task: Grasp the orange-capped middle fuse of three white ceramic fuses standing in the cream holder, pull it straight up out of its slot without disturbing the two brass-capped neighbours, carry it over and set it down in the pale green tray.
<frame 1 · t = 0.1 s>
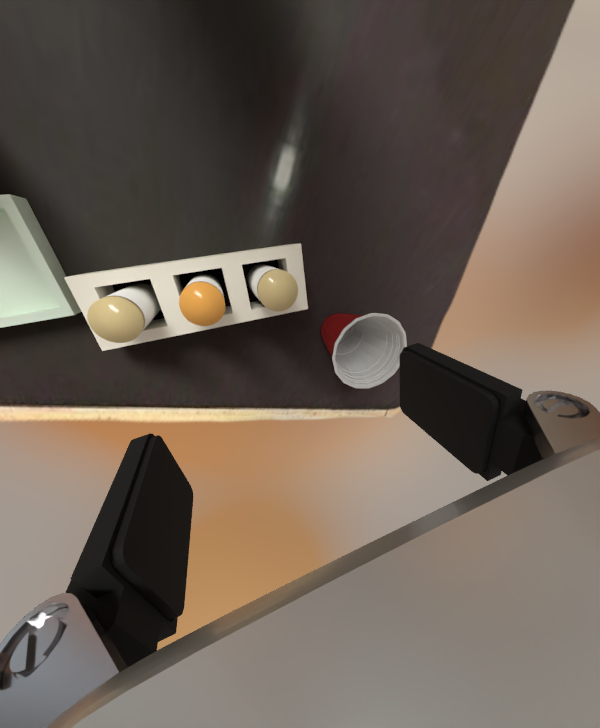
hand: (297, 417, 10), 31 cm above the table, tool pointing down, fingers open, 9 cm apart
fuse marked: (204, 296, 30), in the holder
plastic cup: (334, 328, 44), on the table
fuse 1: (143, 300, 33), resting in holder
fuse 3: (261, 280, 37), resting in holder
holder: (205, 289, 35), on the table
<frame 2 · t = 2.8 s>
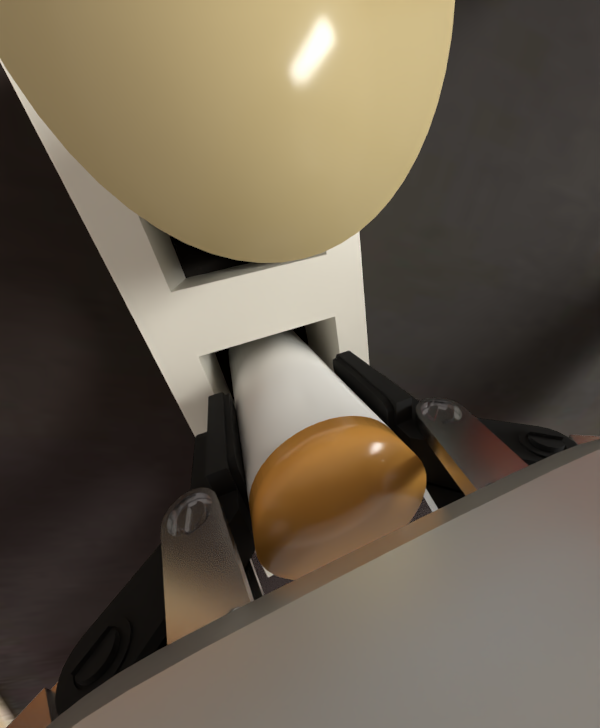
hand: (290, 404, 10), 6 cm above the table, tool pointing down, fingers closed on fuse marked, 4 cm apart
fuse marked: (288, 399, 11), in the holder, touching gripper
fuse 1: (222, 203, 12), resting in holder
holder: (265, 353, 16), on the table
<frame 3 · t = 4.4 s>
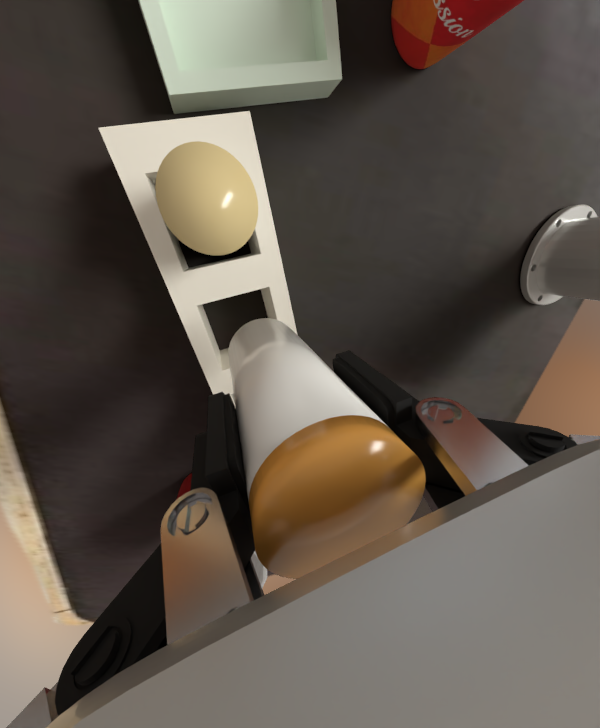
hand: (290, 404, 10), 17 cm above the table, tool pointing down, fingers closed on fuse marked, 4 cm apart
fuse marked: (288, 398, 11), point 16 cm above the table, touching gripper
plastic cup: (206, 482, 32), on the table
fuse 1: (209, 225, 21), resting in holder
holder: (238, 316, 25), on the table
coffee cup: (420, 21, 20), on the table
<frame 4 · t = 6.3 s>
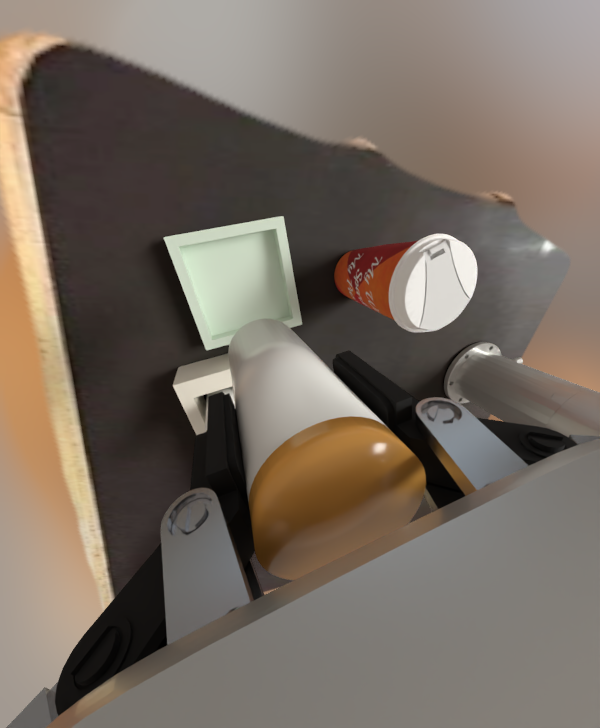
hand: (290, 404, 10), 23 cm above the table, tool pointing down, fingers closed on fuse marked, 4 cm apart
fuse marked: (288, 399, 11), point 23 cm above the table, touching gripper
holder: (240, 433, 38), on the table
tray: (240, 284, 30), on the table
coffee cup: (353, 274, 34), on the table
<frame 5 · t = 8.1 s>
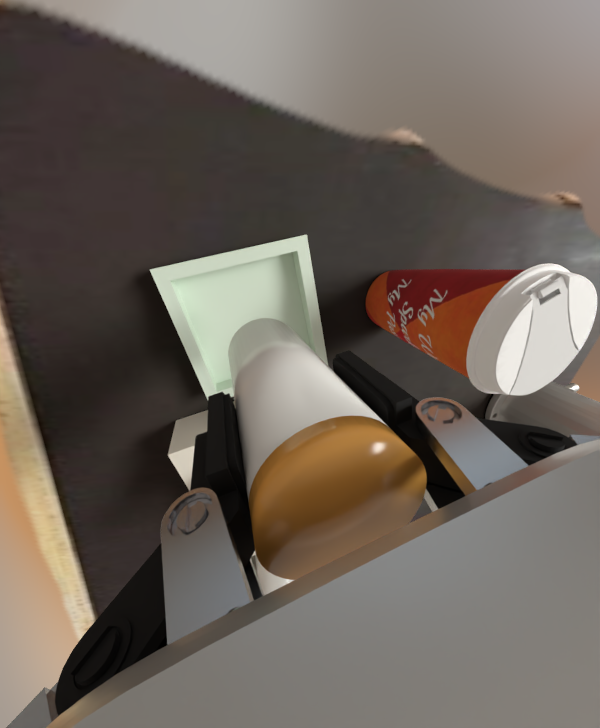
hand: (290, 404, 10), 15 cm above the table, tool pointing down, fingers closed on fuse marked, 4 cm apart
fuse marked: (288, 399, 11), point 15 cm above the table, touching gripper
fuse 3: (267, 523, 36), resting in holder
holder: (251, 487, 32), on the table
tray: (250, 319, 24), on the table
coffee cup: (388, 299, 28), on the table
when the fingers open (8 cm above the table, at t = 9.7 s): fuse marked drops 2 cm, resting on tray.
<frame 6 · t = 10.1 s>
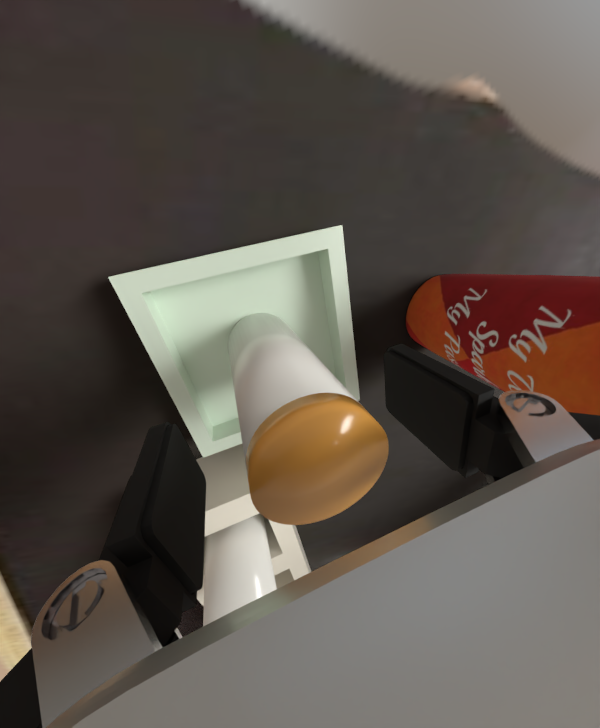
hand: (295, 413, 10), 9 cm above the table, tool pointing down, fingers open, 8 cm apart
fuse marked: (280, 384, 12), in the tray, point 6 cm above the table
fuse 1: (232, 492, 23), resting in holder
holder: (257, 541, 26), on the table
tray: (258, 341, 18), on the table
coffee cup: (433, 311, 22), on the table
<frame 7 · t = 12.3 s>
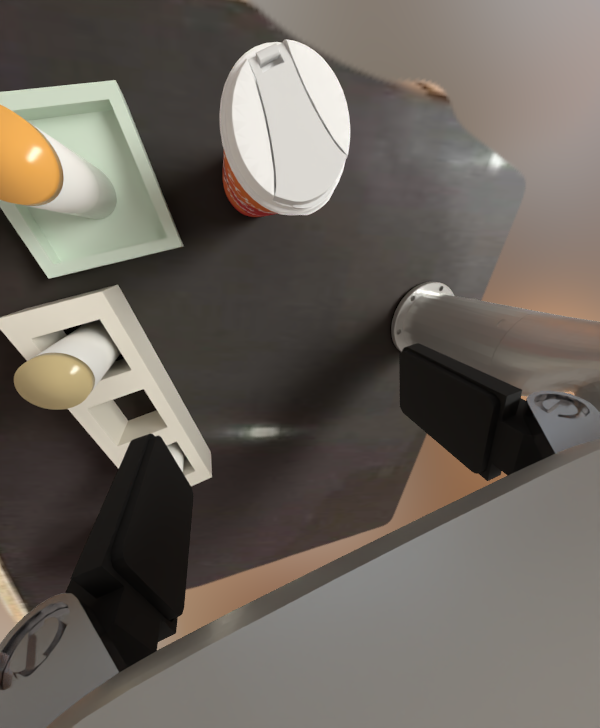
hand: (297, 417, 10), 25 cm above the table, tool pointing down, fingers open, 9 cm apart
fuse marked: (55, 177, 18), in the tray, point 6 cm above the table
fuse 1: (102, 339, 28), resting in holder
holder: (139, 395, 32), on the table
tray: (90, 192, 23), on the table
coffee cup: (251, 186, 28), on the table
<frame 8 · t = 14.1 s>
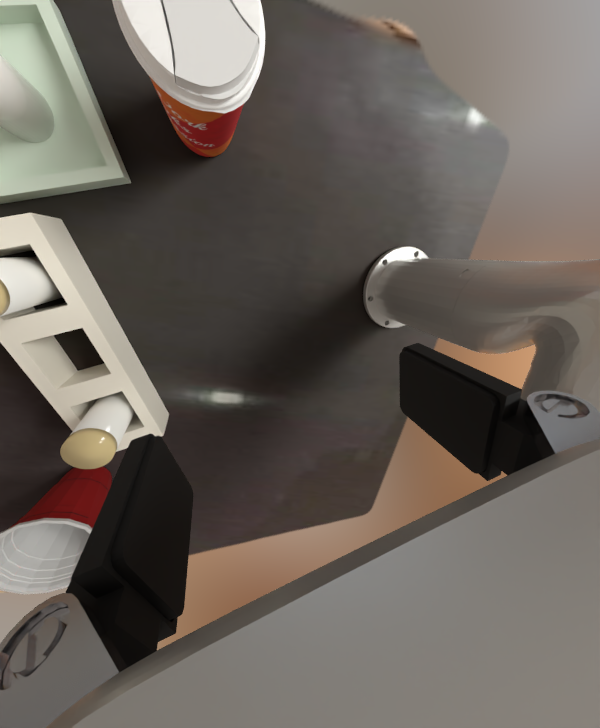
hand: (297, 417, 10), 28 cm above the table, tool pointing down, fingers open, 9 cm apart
plastic cup: (90, 475, 38), on the table
fuse 1: (47, 278, 27), resting in holder
fuse 3: (122, 396, 35), resting in holder
holder: (89, 344, 31), on the table
tray: (27, 114, 23), on the table
coffee cup: (203, 123, 27), on the table
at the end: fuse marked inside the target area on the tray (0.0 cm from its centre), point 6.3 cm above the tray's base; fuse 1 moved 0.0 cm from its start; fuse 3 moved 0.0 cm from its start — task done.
